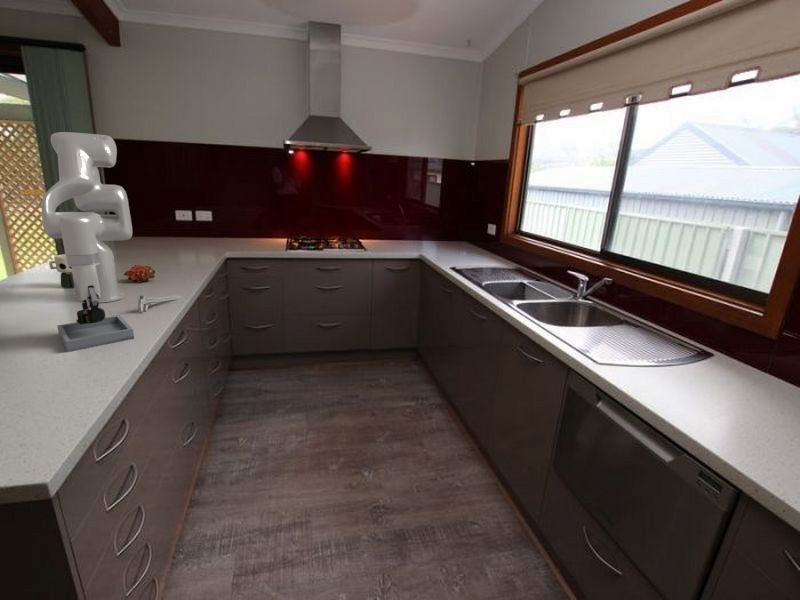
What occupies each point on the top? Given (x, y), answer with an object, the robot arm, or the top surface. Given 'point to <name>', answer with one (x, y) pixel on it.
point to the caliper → (153, 301)
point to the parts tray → (95, 333)
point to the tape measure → (86, 316)
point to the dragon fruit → (140, 273)
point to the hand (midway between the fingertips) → (93, 317)
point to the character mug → (63, 270)
